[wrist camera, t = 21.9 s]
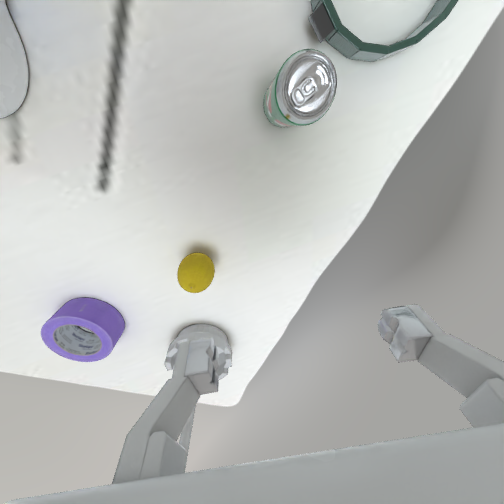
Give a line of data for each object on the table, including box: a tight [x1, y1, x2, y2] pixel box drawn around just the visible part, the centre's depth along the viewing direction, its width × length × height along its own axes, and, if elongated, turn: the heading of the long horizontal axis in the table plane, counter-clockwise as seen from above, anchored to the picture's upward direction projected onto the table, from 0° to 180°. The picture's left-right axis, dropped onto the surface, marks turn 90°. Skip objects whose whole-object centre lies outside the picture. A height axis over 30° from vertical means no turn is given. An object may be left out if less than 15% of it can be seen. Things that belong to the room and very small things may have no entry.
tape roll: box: [41, 298, 125, 362], centre depth 41 cm, size 12×12×5 cm
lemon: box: [178, 253, 215, 293], centre depth 34 cm, size 6×6×8 cm
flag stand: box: [165, 324, 232, 468], centre depth 35 cm, size 13×13×30 cm
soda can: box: [263, 49, 337, 127], centre depth 22 cm, size 5×5×12 cm
